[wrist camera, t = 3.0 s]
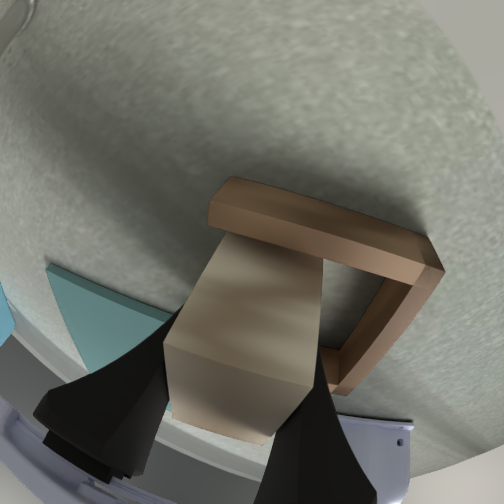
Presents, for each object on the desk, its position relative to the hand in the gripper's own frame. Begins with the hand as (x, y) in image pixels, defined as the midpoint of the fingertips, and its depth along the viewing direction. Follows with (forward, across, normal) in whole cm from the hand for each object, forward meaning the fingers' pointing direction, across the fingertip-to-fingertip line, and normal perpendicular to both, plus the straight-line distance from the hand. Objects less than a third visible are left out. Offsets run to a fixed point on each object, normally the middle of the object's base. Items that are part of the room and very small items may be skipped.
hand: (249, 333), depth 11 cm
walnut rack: (+4, -2, 0) cm, 4 cm away
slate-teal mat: (+3, +10, +13) cm, 17 cm away
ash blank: (+3, 0, 0) cm, 3 cm away
